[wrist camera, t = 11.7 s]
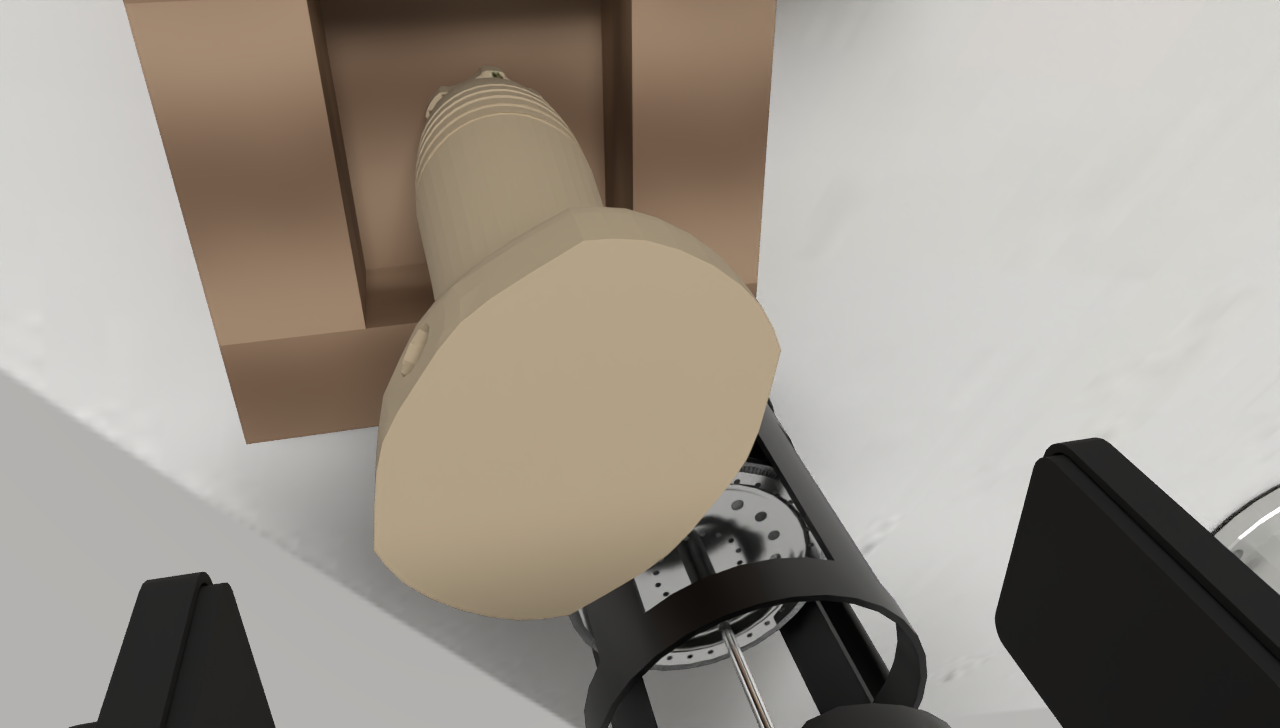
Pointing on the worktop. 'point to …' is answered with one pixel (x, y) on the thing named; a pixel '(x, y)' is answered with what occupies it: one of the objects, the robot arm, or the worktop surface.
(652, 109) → the socket block
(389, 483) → the handle
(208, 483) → the worktop surface
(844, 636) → the french press
